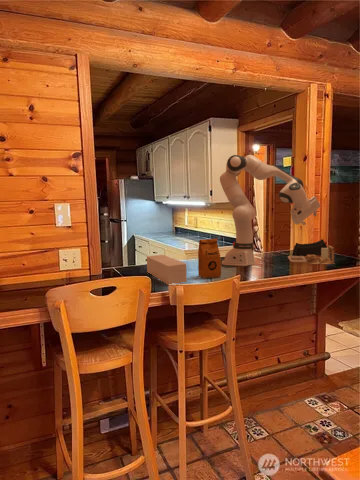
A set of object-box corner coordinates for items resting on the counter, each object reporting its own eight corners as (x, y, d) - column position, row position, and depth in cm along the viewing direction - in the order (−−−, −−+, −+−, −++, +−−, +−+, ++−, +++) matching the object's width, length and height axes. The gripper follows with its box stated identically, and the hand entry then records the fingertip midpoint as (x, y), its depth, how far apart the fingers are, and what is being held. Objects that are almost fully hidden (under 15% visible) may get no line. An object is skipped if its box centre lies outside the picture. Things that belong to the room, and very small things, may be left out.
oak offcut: (308, 258, 211) (308, 255, 211) (306, 257, 215) (306, 254, 215) (316, 258, 211) (316, 255, 211) (314, 257, 215) (314, 254, 215)
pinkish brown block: (147, 273, 200) (146, 256, 198) (163, 271, 205) (162, 254, 203) (168, 286, 171) (168, 266, 170) (186, 283, 176) (186, 263, 175)
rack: (308, 265, 209) (308, 248, 207) (304, 261, 220) (305, 245, 218) (335, 265, 206) (335, 248, 205) (330, 262, 217) (330, 245, 215)
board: (321, 262, 212) (321, 248, 210) (320, 261, 213) (321, 248, 212) (328, 262, 211) (328, 248, 210) (327, 261, 213) (327, 248, 211)
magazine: (292, 245, 232) (323, 231, 241) (289, 245, 235) (320, 230, 244) (297, 267, 236) (328, 252, 245) (294, 266, 239) (324, 251, 248)
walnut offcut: (307, 262, 212) (307, 258, 211) (305, 261, 217) (305, 257, 216) (317, 262, 211) (317, 258, 210) (315, 261, 216) (315, 257, 215)
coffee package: (222, 278, 184) (222, 239, 181) (201, 279, 181) (200, 240, 178) (217, 273, 193) (216, 237, 190) (197, 275, 191) (196, 238, 188)
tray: (290, 263, 215) (290, 260, 215) (287, 259, 229) (287, 256, 228) (306, 263, 213) (306, 260, 213) (302, 259, 227) (302, 256, 227)
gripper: (312, 193, 213) (318, 209, 220) (287, 213, 213) (295, 227, 220) (318, 196, 208) (325, 211, 215) (294, 216, 207) (301, 231, 214)
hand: (309, 220), depth 217 cm, fingers open, 8 cm apart
